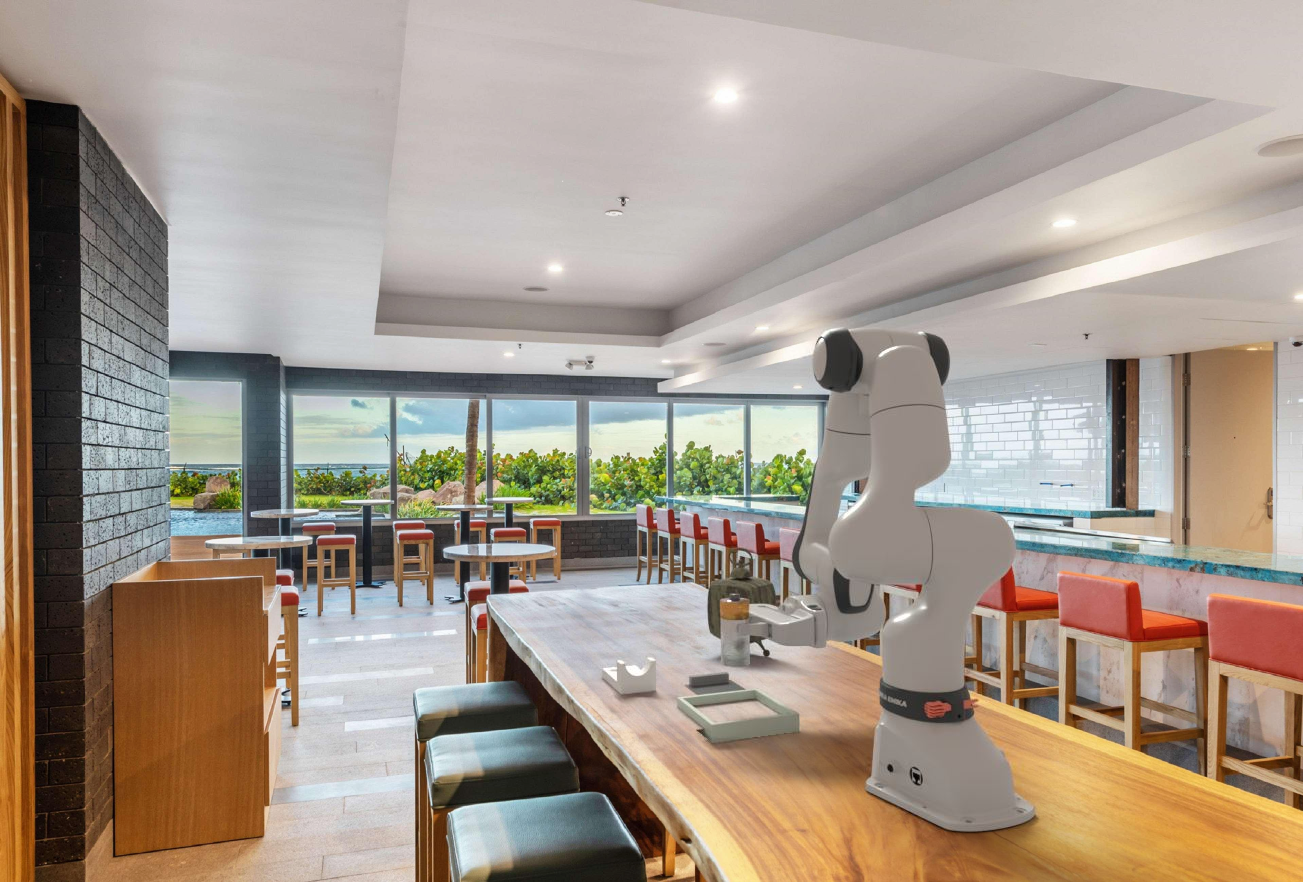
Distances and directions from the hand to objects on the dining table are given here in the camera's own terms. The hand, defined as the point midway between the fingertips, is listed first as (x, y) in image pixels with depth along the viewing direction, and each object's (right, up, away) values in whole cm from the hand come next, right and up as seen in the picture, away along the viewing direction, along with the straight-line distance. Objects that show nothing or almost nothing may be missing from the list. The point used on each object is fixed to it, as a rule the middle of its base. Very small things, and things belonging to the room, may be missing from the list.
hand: (730, 626), depth 142 cm
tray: (+1, -17, 0) cm, 17 cm away
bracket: (-18, -18, +20) cm, 32 cm away
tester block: (-1, -17, +15) cm, 23 cm away
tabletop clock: (+7, -18, +47) cm, 51 cm away
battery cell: (+1, -6, 0) cm, 7 cm away
